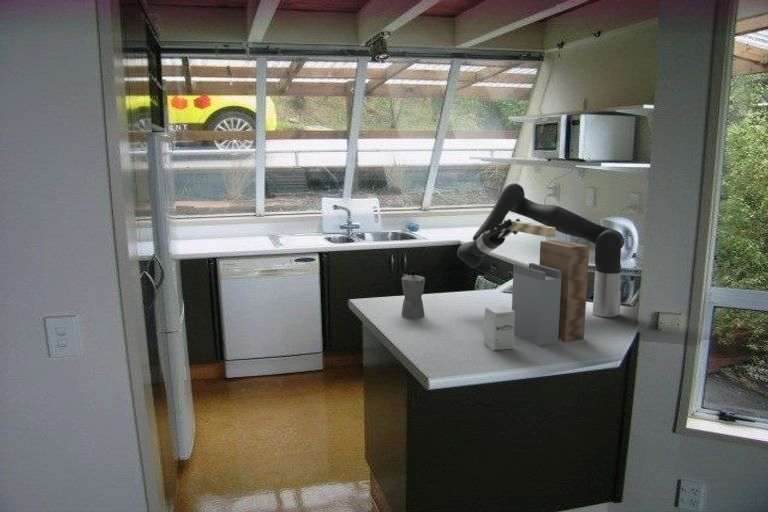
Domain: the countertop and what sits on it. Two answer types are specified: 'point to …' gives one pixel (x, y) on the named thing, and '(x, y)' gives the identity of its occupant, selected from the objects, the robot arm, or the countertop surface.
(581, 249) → the walnut pedestal
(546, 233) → the birch bar
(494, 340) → the supplement box
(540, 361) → the countertop surface
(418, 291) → the coffeepot
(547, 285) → the slate grooved rack
